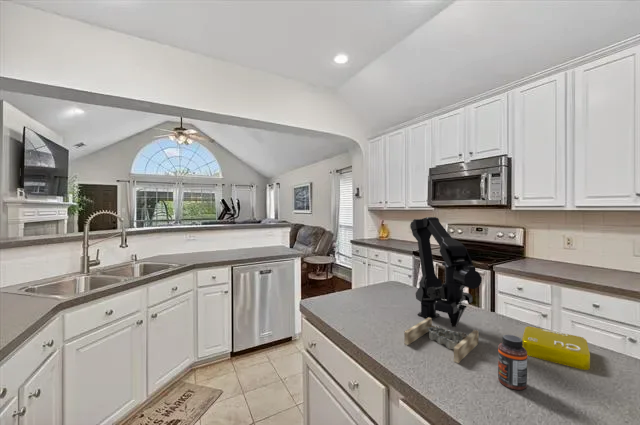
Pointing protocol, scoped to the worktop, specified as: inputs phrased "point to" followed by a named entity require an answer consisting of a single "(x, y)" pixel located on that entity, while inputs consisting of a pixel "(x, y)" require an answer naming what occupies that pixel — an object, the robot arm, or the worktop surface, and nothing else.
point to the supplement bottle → (512, 363)
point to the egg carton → (445, 336)
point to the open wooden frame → (422, 329)
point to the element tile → (557, 347)
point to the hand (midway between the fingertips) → (453, 326)
